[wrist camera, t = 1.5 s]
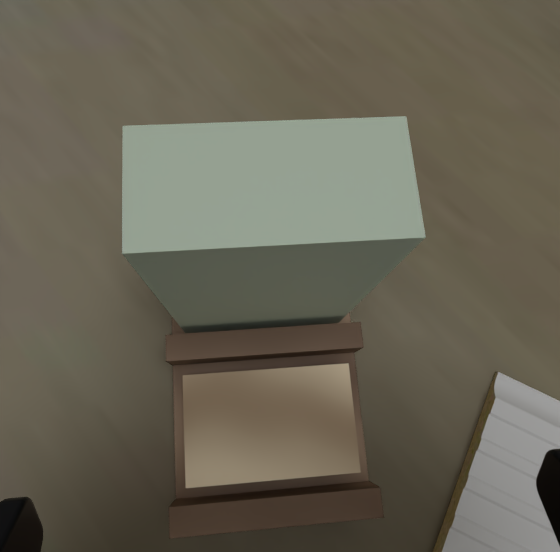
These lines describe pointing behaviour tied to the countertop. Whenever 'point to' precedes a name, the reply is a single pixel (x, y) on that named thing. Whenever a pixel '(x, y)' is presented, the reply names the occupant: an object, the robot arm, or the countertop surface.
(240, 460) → the offcut top
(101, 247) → the countertop surface
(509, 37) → the countertop surface
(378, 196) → the pale green block
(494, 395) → the baseboard
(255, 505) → the rack
